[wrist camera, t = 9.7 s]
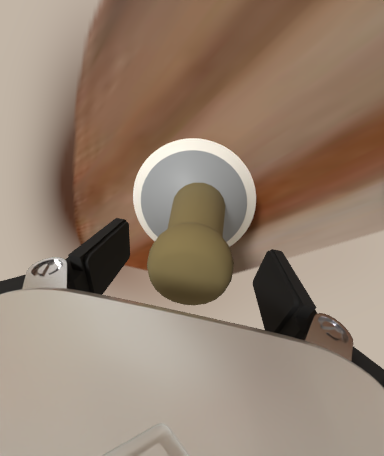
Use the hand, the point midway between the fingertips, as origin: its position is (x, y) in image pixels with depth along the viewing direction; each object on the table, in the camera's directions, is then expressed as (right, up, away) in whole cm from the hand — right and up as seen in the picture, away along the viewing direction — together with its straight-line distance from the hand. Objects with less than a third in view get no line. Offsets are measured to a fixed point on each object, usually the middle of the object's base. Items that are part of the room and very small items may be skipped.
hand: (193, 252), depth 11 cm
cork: (+1, +4, +8) cm, 8 cm away
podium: (0, +6, +12) cm, 13 cm away
